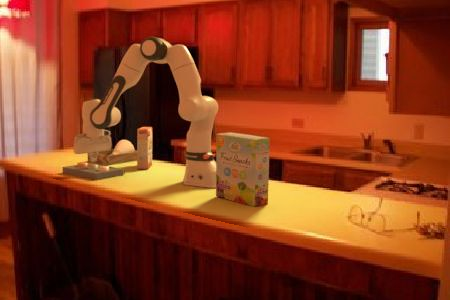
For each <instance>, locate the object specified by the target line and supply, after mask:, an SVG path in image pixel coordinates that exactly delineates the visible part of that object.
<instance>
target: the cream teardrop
mask: <svg viewBox="0 0 450 300" xmlns="http://www.w3.org/2000/svg"><path fill="white" fill-rule="evenodd" d="M135 150H136V149H135V147H134V144H132V142H131V141H129V140H128V139H121V140H119V141H118V142H117V143H116V145H115V146H114V151H113V152H112V154H110V155H117V154H124V153H131V152H134V151H135ZM110 155H109V156H110Z"/></svg>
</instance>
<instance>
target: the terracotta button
mask: <svg viewBox="0 0 450 300" xmlns="http://www.w3.org/2000/svg"><path fill="white" fill-rule="evenodd" d="M88 163H89V162H88V161H87V162H86V161H83V162H77V164H76V165H77V167H81V168H82V167H88Z"/></svg>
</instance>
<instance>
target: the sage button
mask: <svg viewBox="0 0 450 300" xmlns="http://www.w3.org/2000/svg"><path fill="white" fill-rule="evenodd" d="M98 165H99V164H97V163H93V164H89V165H88V169H98Z"/></svg>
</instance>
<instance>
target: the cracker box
mask: <svg viewBox="0 0 450 300" xmlns="http://www.w3.org/2000/svg"><path fill="white" fill-rule="evenodd" d="M136 130H137V136H136V138H137V139H136V140H137V141H136V142H137V146H136V147H137V148H136V150H137V161H136V163H137V164H136V167H137V168H136V169H137V170H149V168H150V167H151V166H153V127H152V126H142V127H140V128H139V127H138V128H137V129H136Z"/></svg>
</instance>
